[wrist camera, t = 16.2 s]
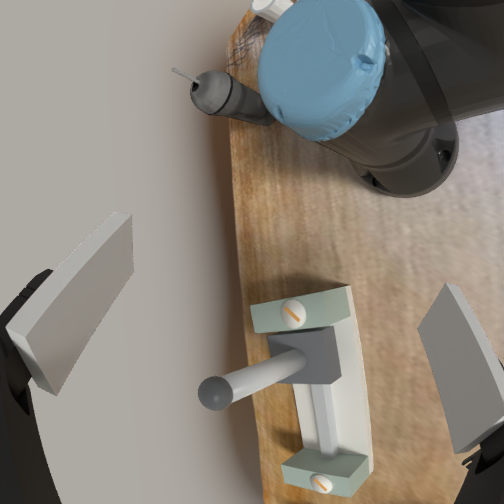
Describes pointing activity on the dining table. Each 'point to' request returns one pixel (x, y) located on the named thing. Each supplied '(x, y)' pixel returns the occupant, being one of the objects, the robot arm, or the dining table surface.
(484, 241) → the dining table surface
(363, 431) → the rail stand
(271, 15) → the white cylinder
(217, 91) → the beverage cup
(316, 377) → the carriage
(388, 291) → the dining table surface
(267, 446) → the dining table surface
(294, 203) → the dining table surface
